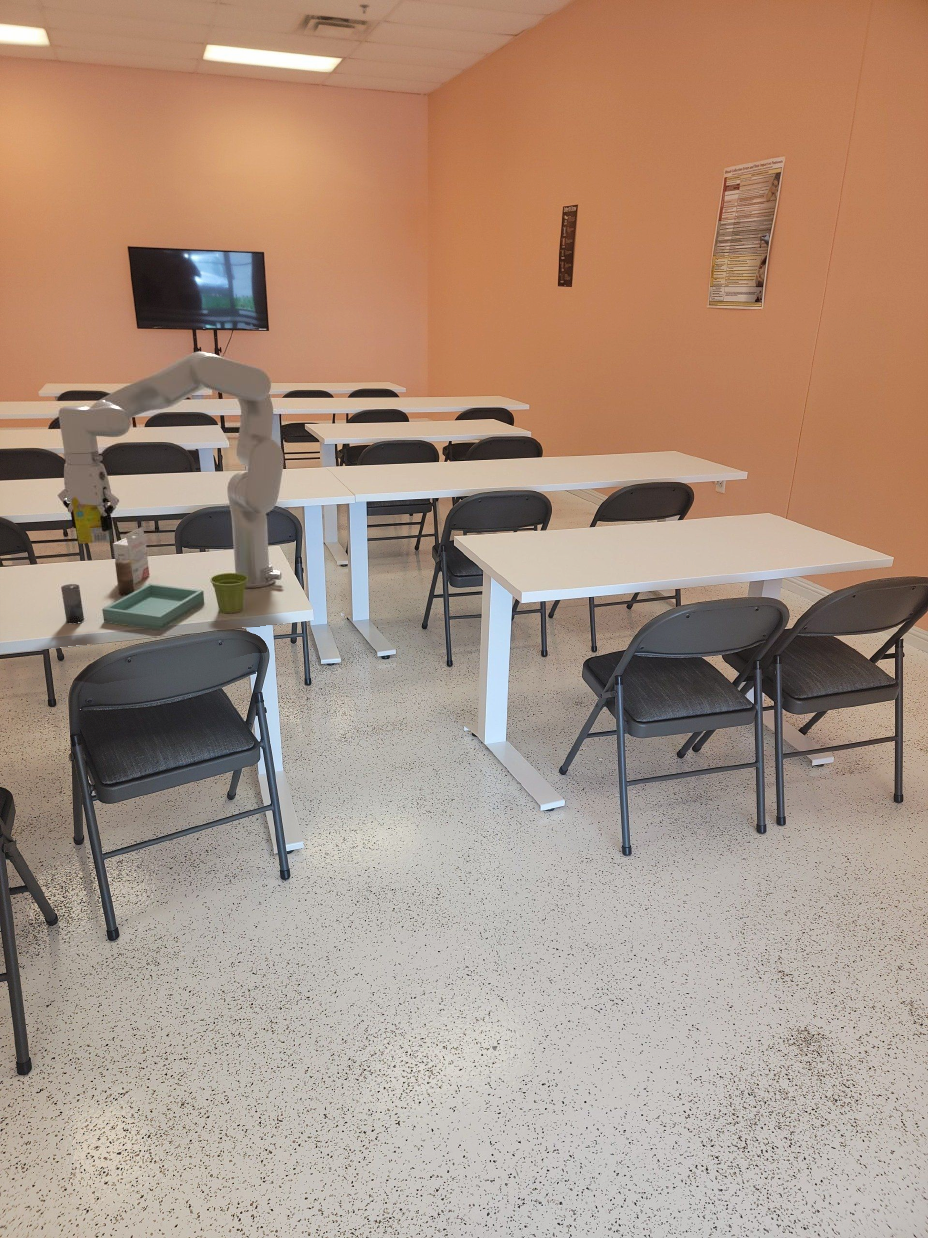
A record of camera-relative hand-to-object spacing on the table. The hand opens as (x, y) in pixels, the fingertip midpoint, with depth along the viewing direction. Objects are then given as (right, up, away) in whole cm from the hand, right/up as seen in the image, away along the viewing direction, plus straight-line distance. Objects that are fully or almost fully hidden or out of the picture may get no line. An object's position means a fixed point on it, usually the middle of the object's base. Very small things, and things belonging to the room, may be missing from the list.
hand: (92, 528), depth 200 cm
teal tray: (+14, -21, +6) cm, 26 cm away
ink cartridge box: (-1, -12, +28) cm, 30 cm away
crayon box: (0, -3, +1) cm, 4 cm away
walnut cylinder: (+1, -16, +17) cm, 23 cm away
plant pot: (+32, -21, +10) cm, 39 cm away
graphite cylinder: (-4, -23, -2) cm, 24 cm away
